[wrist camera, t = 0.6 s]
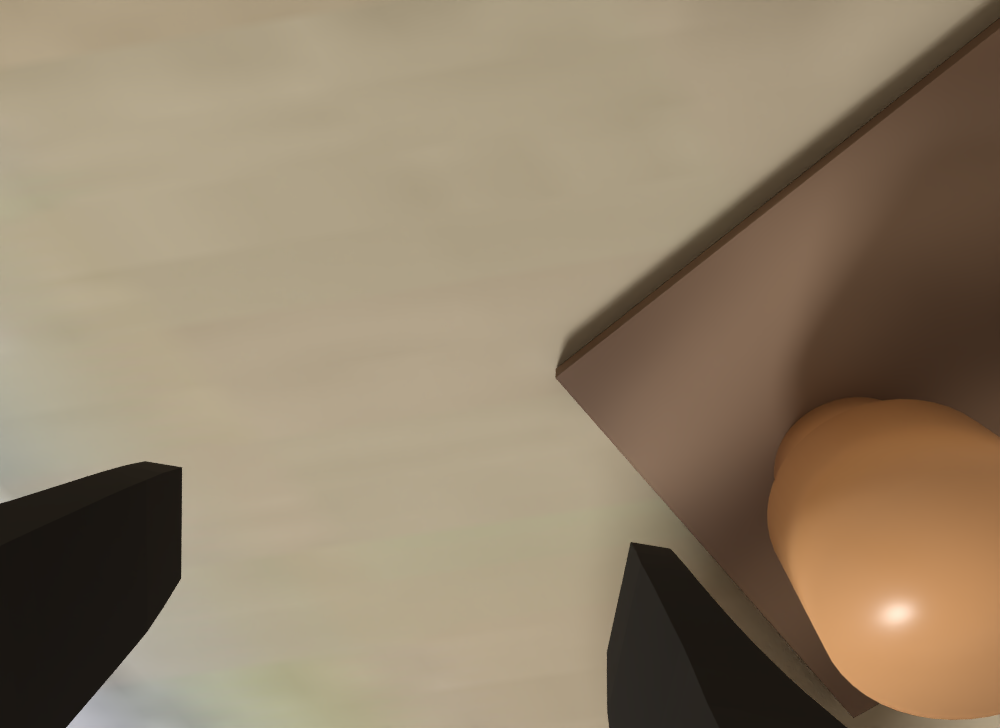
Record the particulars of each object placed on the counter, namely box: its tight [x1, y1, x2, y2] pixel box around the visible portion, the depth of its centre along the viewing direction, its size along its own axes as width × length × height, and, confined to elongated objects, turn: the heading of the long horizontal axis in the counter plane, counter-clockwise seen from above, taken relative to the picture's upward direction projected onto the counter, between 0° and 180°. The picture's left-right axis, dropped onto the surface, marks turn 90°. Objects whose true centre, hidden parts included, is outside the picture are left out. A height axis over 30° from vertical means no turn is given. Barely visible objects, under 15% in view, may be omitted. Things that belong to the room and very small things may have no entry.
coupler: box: [767, 397, 1000, 720], centre depth 17 cm, size 6×6×6 cm
